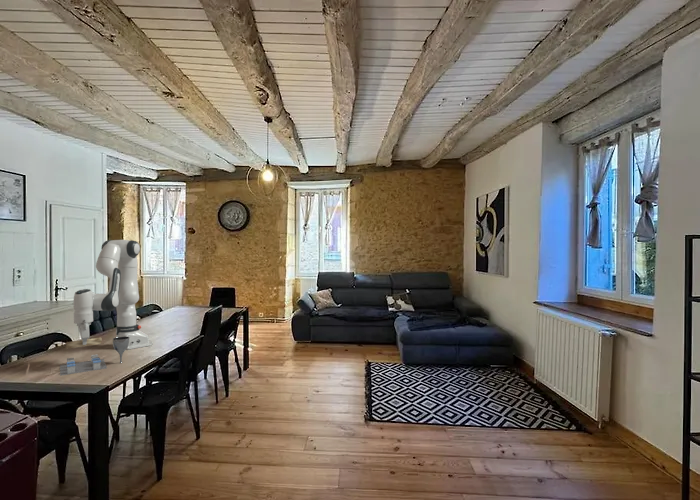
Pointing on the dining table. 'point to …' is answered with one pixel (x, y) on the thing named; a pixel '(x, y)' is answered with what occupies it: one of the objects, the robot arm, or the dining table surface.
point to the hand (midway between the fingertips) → (84, 343)
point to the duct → (82, 365)
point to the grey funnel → (120, 345)
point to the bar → (80, 343)
